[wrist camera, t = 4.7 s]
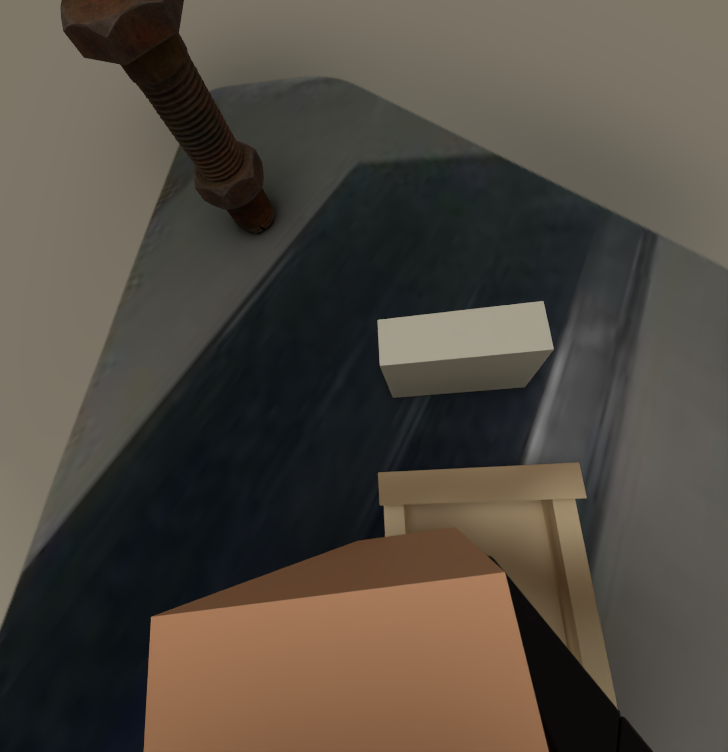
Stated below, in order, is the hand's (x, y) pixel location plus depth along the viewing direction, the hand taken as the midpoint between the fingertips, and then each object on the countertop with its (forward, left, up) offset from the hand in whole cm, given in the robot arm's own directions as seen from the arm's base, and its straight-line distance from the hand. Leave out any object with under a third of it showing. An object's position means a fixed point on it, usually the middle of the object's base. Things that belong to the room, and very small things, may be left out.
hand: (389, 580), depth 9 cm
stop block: (+10, +3, -13) cm, 17 cm away
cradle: (0, -4, -13) cm, 14 cm away
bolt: (+14, +22, -14) cm, 30 cm away
